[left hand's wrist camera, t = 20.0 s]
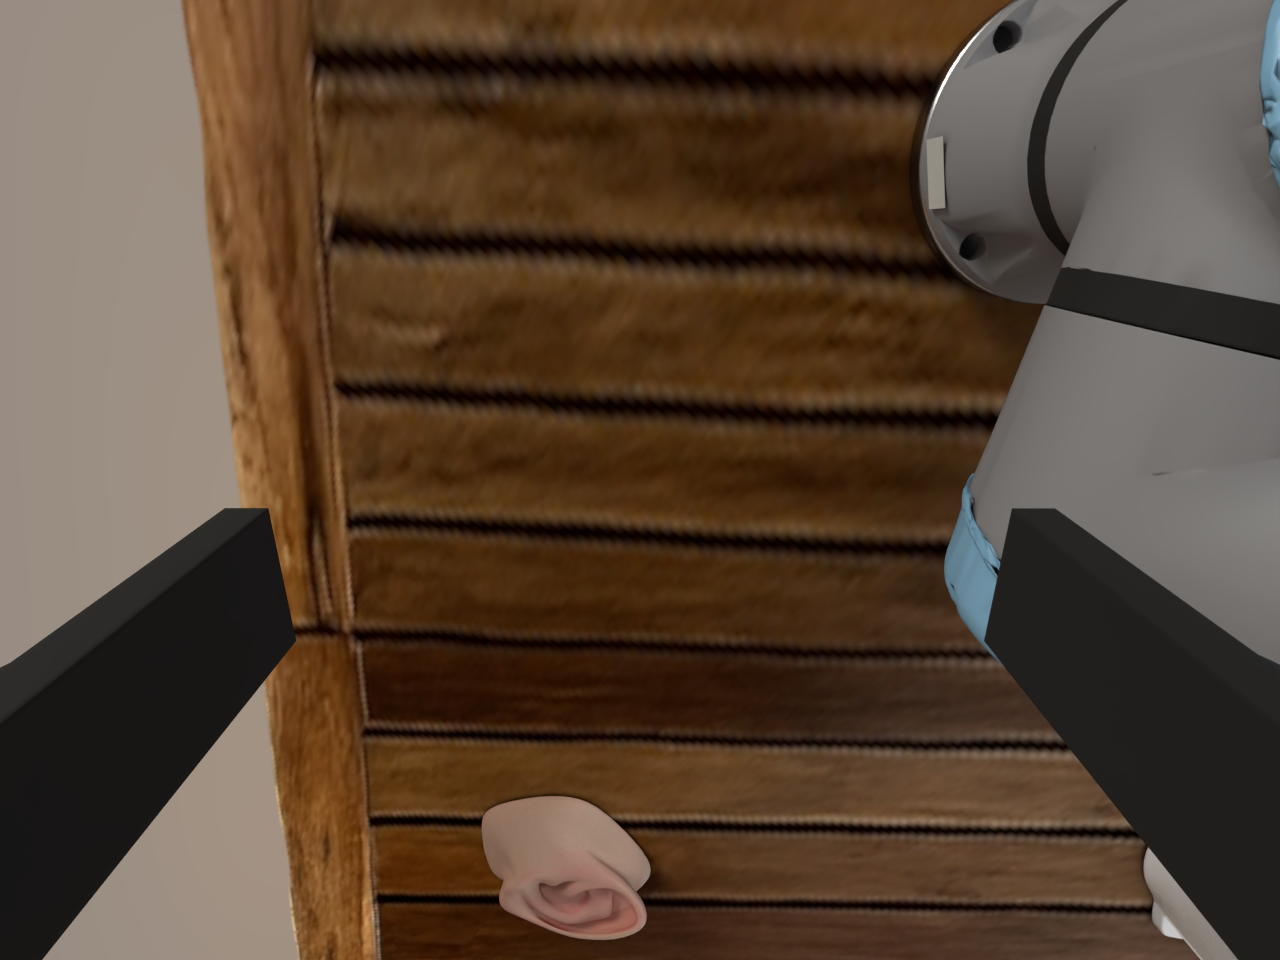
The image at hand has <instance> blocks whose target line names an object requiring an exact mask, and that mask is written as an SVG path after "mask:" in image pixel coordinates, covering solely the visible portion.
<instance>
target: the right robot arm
mask: <svg viewBox="0 0 1280 960" xmlns="http://www.w3.org/2000/svg"><path fill="white" fill-rule="evenodd" d="M1143 871H1144V877H1145V881H1146V884H1147V886H1148V888H1149V890H1150V891H1151V893H1152V896H1153V899H1154V903H1153V909H1152V921H1153V923H1154V924H1155V925H1156V927H1157V928H1158V929H1159V930H1160V931H1161V932H1162V934H1164V935H1165V936H1168V937H1173V938H1179V939H1184V940H1185V941H1186V943H1187V944H1188V945H1189V946H1190V947H1191V949H1192V950H1193V951H1194V952H1195V953H1196V955H1197V956H1198V957H1199V958H1200V959H1201V960H1238V959H1237V958H1236V957H1235V955H1234V954H1233V953H1232V952H1231V950H1230V949H1229V948H1228V947H1227V945H1226V944H1225V943H1224V942H1223V940H1222V939H1221V938H1220V937H1219V935H1218V934H1217V933H1216V932H1215V930H1214V929H1213V928H1212V927H1211V925H1210V924H1209V923H1208V922H1207V920H1206V919H1205V918H1204V917H1203V915H1202V914H1201V913H1200V911H1199V910H1198V909H1197V908H1196V906H1195V905H1194V904H1193V903H1192V901H1191V900H1190V899H1189V898H1188V896H1187V895H1186V894H1185V893H1184V891H1183V890H1182V889H1181V888H1180V886H1179V885H1178V884H1177V883H1176V881H1175V880H1174V879H1173V878H1172V876H1171V875H1170V874H1169V873H1168V871H1167V870H1166V869H1165V868H1164V866H1163V865H1162V864H1161V863H1160V861H1159V860H1158V859H1157V858H1156V856H1155V855H1154V854H1153V853H1152V851H1151V850H1150V849H1149V847H1148V848H1147V851H1146V854H1145V858H1144V865H1143Z"/></svg>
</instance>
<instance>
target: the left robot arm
mask: <svg viewBox="0 0 1280 960" xmlns="http://www.w3.org/2000/svg"><path fill="white" fill-rule="evenodd" d="M910 185H911V195H912V201H913V206H914V211H915V214H916V217H917V220H918V224H919V226H920V229H921V231H922V233H923V236H924V238H925V239H926V241H927V243H928V245H929V247H930V248H931V250H932V251H933V252H934V254H935V255H936V257H937V258H938V259H939V260H940V262H941V263H942V264H943V265H944V266H945V267H946V268H947V269H948V270H949V271H950V272H951V273H953V274H954V275H955V276H956V277H957V278H959V279H960V280H962V281H963V282H965V283H966V284H968V285H970V286H972V287H974V288H976V289H977V290H980V291H982V292H985V293H988V294H990V295H994V296H998V297H1002V298H1006V299H1010V300H1014V301H1019V302H1026V303H1039V304H1045V303H1046V304H1047V305H1050V306H1047V305H1044V307H1043V310H1042V312H1041V315H1040V317H1039V320H1038V322H1037V325H1036V327H1035V329H1034V332H1033V334H1032V337H1031V339H1030V342H1029V344H1028V347H1027V349H1026V351H1025V354H1024V356H1023V359H1022V361H1021V364H1020V366H1019V369H1018V371H1017V373H1016V376H1015V378H1014V381H1013V383H1012V386H1011V388H1010V391H1009V393H1008V395H1007V398H1006V400H1005V403H1004V405H1003V408H1002V410H1001V413H1000V415H999V417H998V420H997V422H996V425H995V427H994V430H993V432H992V434H991V437H990V439H989V441H988V444H987V446H986V448H985V451H984V453H983V455H982V457H981V460H980V462H979V464H978V467H977V469H976V471H975V473H973V474H971V476H970V477H969V479H968V480H967V482H966V485H965V488H964V489H963V493H962V508H961V511H960V514H959V517H958V520H957V523H956V527H955V530H954V532H953V535H952V538H951V541H950V543H949V546H948V549H947V553H946V557H945V565H944V573H945V581H946V585H947V588H948V590H949V593H950V596H951V598H952V600H953V601H954V603H955V604H956V605H957V611H958V613H959V615H960V617H961V618H962V620H963V621H964V623H965V624H966V626H967V627H968V628H969V630H970V631H971V632H972V634H973V635H974V636H975V637H976V638H977V640H978V641H979V642H980V643H981V644H982V645H983V646H984V647H985V648H986V649H987V651H988V652H989V653H990V654H991V655H992V656H993V657H994V658H995V659H996V660H997V661H998V662H1000V663H1001V664H1002V665H1003V666H1004V667H1005V668H1006V669H1007V671H1008V672H1009V673H1010V674H1011V676H1012V677H1013V678H1014V679H1015V681H1016V682H1017V683H1018V684H1019V686H1020V687H1021V688H1022V689H1023V691H1024V692H1025V693H1026V694H1027V696H1028V697H1029V698H1030V699H1031V701H1032V702H1033V703H1034V704H1035V706H1036V707H1037V708H1038V709H1039V711H1040V712H1041V713H1042V714H1043V716H1044V717H1045V718H1046V719H1047V721H1048V722H1049V723H1050V724H1051V726H1052V727H1053V728H1054V730H1055V731H1056V732H1057V733H1058V735H1059V736H1060V737H1061V738H1062V740H1063V741H1064V742H1065V743H1066V745H1067V746H1068V747H1069V748H1070V750H1071V751H1072V752H1073V753H1074V755H1075V756H1076V757H1077V758H1078V760H1079V761H1080V762H1081V763H1082V765H1083V766H1084V767H1085V768H1086V770H1087V771H1088V772H1089V773H1090V775H1091V776H1092V777H1093V778H1094V780H1095V781H1096V782H1097V783H1098V785H1099V786H1100V787H1101V788H1102V790H1103V791H1104V792H1105V794H1106V795H1107V796H1108V797H1109V799H1110V800H1111V801H1112V802H1113V804H1114V805H1115V806H1116V807H1117V809H1118V810H1119V811H1120V812H1121V814H1122V815H1123V816H1124V817H1125V819H1126V820H1127V821H1128V822H1129V824H1130V825H1131V826H1132V827H1133V829H1134V830H1135V831H1136V832H1137V834H1138V835H1139V836H1140V837H1141V839H1142V840H1143V841H1144V842H1145V844H1146V845H1147V846H1148V847H1149V849H1150V850H1151V851H1152V853H1153V854H1154V855H1155V856H1156V858H1157V859H1158V860H1159V861H1160V863H1161V864H1162V865H1163V866H1164V868H1165V869H1166V870H1167V871H1168V873H1169V874H1170V875H1171V876H1172V878H1173V879H1174V880H1175V881H1176V883H1177V884H1178V885H1179V886H1180V888H1181V889H1182V890H1183V891H1184V893H1185V894H1186V895H1187V896H1188V898H1189V899H1190V900H1191V901H1192V903H1193V904H1194V905H1195V906H1196V908H1197V909H1198V910H1199V911H1200V913H1201V914H1202V915H1203V917H1204V918H1205V919H1206V920H1207V922H1208V923H1209V924H1210V925H1211V927H1212V928H1213V929H1214V930H1215V932H1216V933H1217V934H1218V935H1219V937H1220V938H1221V939H1222V940H1223V942H1224V943H1225V944H1226V945H1227V947H1228V948H1229V949H1230V950H1231V952H1232V953H1233V954H1234V955H1235V957H1236V958H1237V959H1238V960H1280V0H1013V1H1011V2H1010V3H1008V4H1007V5H1005V6H1004V7H1002V8H1000V9H999V10H997V11H996V12H995V13H993V14H992V15H991V16H990V17H988V18H987V19H986V20H984V21H983V22H982V23H981V24H980V25H979V26H978V27H977V28H976V29H974V30H973V31H972V32H971V33H970V34H969V35H968V37H967V38H966V39H965V40H964V41H963V42H962V43H961V44H960V45H959V46H958V48H957V49H956V50H955V52H954V53H953V54H952V55H951V57H950V58H949V59H948V61H947V62H946V64H945V65H944V67H943V68H942V70H941V71H940V73H939V75H938V76H937V78H936V80H935V82H934V84H933V86H932V87H931V89H930V92H929V94H928V96H927V98H926V100H925V103H924V105H923V108H922V111H921V114H920V116H919V119H918V123H917V127H916V131H915V134H914V140H913V145H912V151H911V163H910ZM1056 307H1057V308H1056ZM1061 308H1062V309H1061ZM1065 309H1067V310H1065ZM1070 310H1072V311H1070ZM1074 311H1077V312H1074ZM1079 312H1082V313H1079ZM1083 313H1087V314H1083ZM1088 314H1091V315H1088ZM1092 315H1095V316H1092ZM1097 316H1100V317H1097ZM1101 317H1104V318H1101ZM1106 318H1108V319H1106ZM1110 319H1113V320H1110ZM1115 320H1117V321H1115ZM1119 321H1121V322H1119ZM1123 322H1126V323H1123ZM1128 323H1130V324H1128ZM1132 324H1134V325H1132ZM1137 325H1139V326H1137ZM1141 326H1143V327H1141ZM1146 327H1147V328H1146ZM1150 328H1151V329H1150ZM1154 329H1155V330H1154ZM1224 345H1225V346H1224ZM1233 347H1234V348H1233ZM295 642H296V638H295V633H294V629H293V624H292V619H291V614H290V610H289V605H288V600H287V595H286V591H285V586H284V581H283V576H282V572H281V567H280V562H279V557H278V553H277V548H276V543H275V538H274V534H273V529H272V524H271V519H270V514H269V510H268V508H225V509H223V510H222V511H220V512H219V513H218V514H216V515H215V516H214V517H212V518H211V519H209V520H208V521H207V522H205V523H204V524H202V525H201V526H200V527H198V528H197V529H195V530H194V531H193V532H191V533H190V534H189V535H187V536H186V537H184V538H183V539H182V540H180V541H179V542H177V543H176V544H175V545H173V546H172V547H170V548H169V549H168V550H166V551H165V552H164V553H162V554H161V555H159V556H158V557H157V558H155V559H154V560H152V561H151V562H150V563H148V564H147V565H145V566H144V567H143V568H141V569H140V570H139V571H137V572H136V573H134V574H133V575H132V576H130V577H129V578H127V579H126V580H125V581H123V582H122V583H121V584H119V585H118V586H116V587H115V588H114V589H112V590H111V591H109V592H108V593H107V594H105V595H104V596H102V597H101V598H100V599H98V600H97V601H96V602H94V603H93V604H91V605H90V606H89V607H87V608H86V609H85V610H83V611H82V612H80V613H79V614H77V615H76V616H75V617H73V618H72V619H71V620H69V621H68V622H66V623H65V624H64V625H62V626H61V627H59V628H58V629H57V630H55V631H54V632H53V633H51V634H50V635H48V636H47V637H46V638H44V639H43V640H41V641H40V642H39V643H37V644H36V645H34V646H33V647H32V648H30V649H29V650H28V651H26V652H25V653H23V654H22V655H21V656H19V657H18V658H16V659H15V660H14V661H12V662H11V663H9V664H7V665H5V666H3V667H1V668H0V960H42V959H43V958H44V957H45V955H46V954H47V953H48V952H49V950H50V949H51V948H52V947H53V945H54V944H55V943H56V942H57V940H58V939H59V938H60V937H61V935H62V934H63V933H64V932H65V930H66V929H67V928H68V927H69V925H70V924H71V923H72V921H73V920H74V919H75V918H76V916H77V915H78V914H79V913H80V911H81V910H82V909H83V908H84V906H85V905H86V904H87V903H88V901H89V900H90V899H91V898H92V896H93V895H94V894H95V893H96V891H97V890H98V889H99V888H100V886H101V885H102V884H103V883H104V881H105V880H106V879H107V878H108V876H109V875H110V874H111V873H112V871H113V870H114V869H115V868H116V866H117V865H118V864H119V863H120V861H121V860H122V859H123V857H124V856H125V855H126V854H127V853H128V851H129V850H130V849H131V847H132V846H133V845H134V844H135V842H136V841H137V840H138V839H139V837H140V836H141V835H142V834H143V832H144V831H145V830H146V829H147V827H148V826H149V825H150V824H151V822H152V821H153V820H154V819H155V817H156V816H157V815H158V814H159V812H160V811H161V810H162V809H163V807H164V806H165V805H166V804H167V802H168V801H169V800H170V799H171V797H172V796H173V795H174V793H175V792H176V791H177V790H178V788H179V787H180V786H181V785H182V783H183V782H184V781H185V780H186V778H187V777H188V776H189V775H190V773H191V772H192V771H193V770H194V768H195V767H196V766H197V765H198V763H199V762H200V761H201V760H202V758H203V757H204V756H205V755H206V753H207V752H208V751H209V750H210V748H211V747H212V746H213V745H214V743H215V742H216V741H217V739H218V738H219V737H220V736H221V735H222V733H223V732H224V731H225V730H226V728H227V727H228V726H229V724H230V723H231V722H232V721H233V719H234V718H235V717H236V716H237V714H238V713H239V712H240V711H241V709H242V708H243V707H244V706H245V704H246V703H247V702H248V701H249V699H250V698H251V697H252V696H253V694H254V693H255V692H256V691H257V689H258V688H259V687H260V686H261V684H262V683H263V682H264V681H265V679H266V678H267V677H268V676H269V674H270V673H271V672H272V671H273V669H274V668H275V667H276V665H277V664H278V663H279V662H280V660H281V659H282V658H283V657H284V655H285V654H286V653H287V652H288V650H289V649H290V648H291V647H292V645H293V644H294V643H295Z"/></svg>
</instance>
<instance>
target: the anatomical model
mask: <svg viewBox="0 0 1280 960" xmlns="http://www.w3.org/2000/svg"><path fill="white" fill-rule="evenodd" d="M482 837H483V845H484V851H485V854H486V857H487V860H488V863H489V866H490V868H491V870H492V871H493V873H494V874H495V875H496V876H497V877H498V878H500V879H501V880H503V884H502V887H501V891H500V895H499V900H500V904H501V906H502V907H503V908H504V909H505V910H506V911H508V912H510V913H512V914H514V915H516V916H519V917H521V918H523V919H526V920H528V921H530V922H533V923H535V924H537V925H540V926H542V927H544V928H547V929H549V930H552V931H554V932H557V933H559V934H563V935H566V936H569V937H574V938H580V939H591V940H609V939H617V938H622V937H626V936H629V935H631V934H634V933H636V932H637V931H639V930H640V929H641V928H642V927H643V926H644V925H645V923H646V917H647V914H646V909H645V906H644V904H643V901H642V900H641V898H640V896H639V895H638V894H637V892H636V891H637V890H638V889H639V888H641V887H642V886H643V885H644V883H645V882H646V881H647V879H648V878H649V875H650V870H651V869H650V864H649V862H648V859H647V858H646V856H645V855H644V853H643V852H642V850H641V849H640V848H639V846H638V845H637V844H636V843H635V842H634V841H633V839H632V838H631V837H630V836H629V835H628V834H627V833H626V832H625V831H624V830H623V829H622V828H621V827H620V826H619V825H618V824H617V823H616V822H615V821H614V820H612V819H611V818H610V817H609V816H608V815H607V814H605V813H604V812H603V811H601V810H600V809H598V808H597V807H595V806H594V805H592V804H590V803H588V802H586V801H583V800H580V799H577V798H572V797H565V796H543V797H533V798H526V799H520V800H515V801H511V802H507V803H503V804H500V805H497V806H495V807H493V808H491V809H490V810H488V811H487V812H486V813H485V815H484V817H483V820H482Z"/></svg>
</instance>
